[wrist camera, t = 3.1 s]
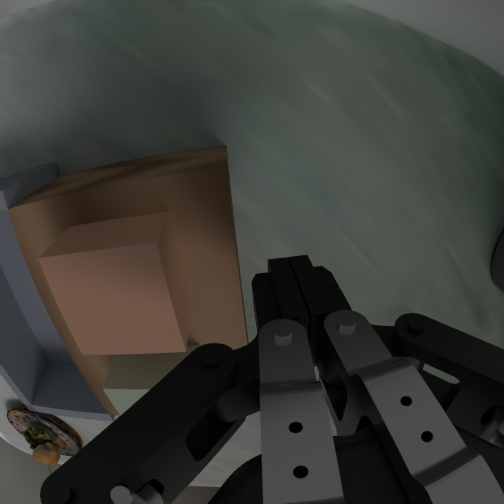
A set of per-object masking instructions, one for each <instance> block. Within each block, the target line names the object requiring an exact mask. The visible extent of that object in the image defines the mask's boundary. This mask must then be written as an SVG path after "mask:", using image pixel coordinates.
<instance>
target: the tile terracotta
mask: <svg viewBox="0 0 504 504" xmlns="http://www.w3.org/2000/svg"><path fill="white" fill-rule="evenodd" d="M38 259H39V262H40V265H41V267H42V270H43V272H44V275H45V277H46V280H47V282H48V284H49V287H50V289H51V291H52V294H53V296H54V298H55V301H56V303H57V305H58V307H59V309H60V311H61V314H62V316H63V318H64V320H65V322H66V324H67V326H68V328H69V330H70V332H71V334H72V336H73V338H74V340H75V342H76V343H77V345H78V347H79V349H80V351H81V353H82V354H85V355H113V354H152V353H172V352H186V348H187V339H188V330H189V321H190V313H191V305H190V301H189V297H188V293H187V288H186V284H185V279H184V275H183V270H182V266H181V261H180V256H179V251H178V247H177V242H176V237H175V232H174V227H173V221H172V216H171V211H166V212H159V213H152V214H145V215H138V216H131V217H125V218H118V219H112V220H106V221H99V222H93V223H87V224H81V225H76V226H70V227H68V228H67V229H66V230H65V231H64V232H63V233H62V234H61V235H60V236H59V237H58V238H57V239H56V240H55V241H54V242H53V243H52V244H51V245H50V246H49V247H48V248H47V249H46V250H45V251H44V252H43V254H42V255H41V256H40V257H39V258H38Z"/></svg>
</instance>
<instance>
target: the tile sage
mask: <svg viewBox="0 0 504 504" xmlns="http://www.w3.org/2000/svg"><path fill="white" fill-rule="evenodd" d="M199 346H201V345H200V344H199V345H187V348H186V352H172V353H152V354H113V357H112V360H111V364H110V367H109V370H108V373H107V376H106V379H105V383H104V386H103V390H104V392H105V393H106V395H107V396H108V398H109V399H110V401H111V402H112V404H113V405H114V407H115V408H116V410H117V411H118V413H119V414H120V416H121V415H122V414H123V413H124V412H125V411H126V410H127V409H129V408H130V407H131V406H132V405H133V404H134V403H135V402H137V401H138V400H139V399H140V398H141V397H142V396H143V395H144V394H146V393H147V392H148V391H149V390H150V389H151V388H152V387H153V386H155V385H156V384H157V383H158V382H159V381H160V380H161V379H162V378H163V377H165V376H166V375H167V374H168V373H169V372H170V371H171V370H172V369H173V368H174V367H176V366H177V365H178V364H179V363H180V362H181V361H182V360H183V359H184V358H185V357H187V356H188V355H189V354H190V353H191V352H192V351H193V350H194V349H196V348H197V347H199Z"/></svg>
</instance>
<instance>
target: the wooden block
mask: <svg viewBox="0 0 504 504" xmlns="http://www.w3.org/2000/svg"><path fill="white" fill-rule="evenodd" d="M166 211H171V216H172V221H173V227H174V232H175V237H176V242H177V247H178V251H179V256H180V261H181V266H182V270H183V275H184V279H185V284H186V288H187V293H188V297H189V301H190V305H191V313H190V321H189V330H188V339H187V345H199V344H200V345H204V344H208V343H221V344H225V345H227V346H229V347H231V348H232V349H233V350H235V349H238V348H241V347H243V346H245V345H247V344H249V342H248V334H247V326H246V318H245V309H244V301H243V293H242V284H241V276H240V267H239V259H238V250H237V241H236V232H235V223H234V214H233V205H232V196H231V187H230V178H229V168H228V159H227V149H226V146H225V147H217V148H208V149H200V150H193V151H186V152H179V153H172V154H166V155H160V156H154V157H148V158H142V159H137V160H131V161H126V162H121V163H116V164H111V165H106V166H102V167H97V168H93V169H88V170H84V171H80V172H76V173H72V174H67V175H64V176H60V177H58V178H56V179H54V180H53V181H51V182H49V183H48V184H46V185H44V186H43V187H41V188H39V189H38V190H36V191H35V192H33V193H31V194H30V195H28V196H27V197H25V198H24V199H22V200H21V201H19V202H18V203H16V204H15V205H13V206H12V207H10V208H9V209H8V212H9V215H10V218H11V221H12V225H13V228H14V231H15V234H16V237H17V240H18V243H19V245H20V248H21V251H22V254H23V256H24V259H25V261H26V264H27V267H28V269H29V272H30V274H31V276H32V279H33V281H34V284H35V286H36V288H37V290H38V293H39V295H40V297H41V299H42V301H43V304H44V306H45V308H46V310H47V312H48V314H49V316H50V318H51V320H52V322H53V324H54V326H55V328H56V330H57V332H58V334H59V336H60V337H61V339H62V341H63V343H64V345H65V347H66V348H67V350H68V352H69V354H70V355H71V357H72V359H73V361H74V362H75V364H76V366H77V367H78V369H79V371H80V372H81V374H82V375H83V377H84V379H85V380H86V382H87V383H88V385H89V386H90V388H91V389H92V391H93V393H94V394H95V395H96V397H97V398H98V400H99V401H100V403H101V404H102V406H103V407H104V409H105V410H106V411H107V413H108V414H116V415H120V414H119V413H118V411H117V410H116V408H115V407H114V405H113V404H112V402H111V401H110V399H109V398H108V396H107V395H106V393H105V392H104V390H103V386H104V383H105V379H106V376H107V373H108V370H109V367H110V364H111V360H112V357H113V355H85V354H82V353H81V351H80V349H79V347H78V345H77V343H76V342H75V340H74V338H73V336H72V334H71V332H70V330H69V328H68V326H67V324H66V322H65V320H64V318H63V316H62V314H61V311H60V309H59V307H58V305H57V303H56V301H55V298H54V296H53V294H52V291H51V289H50V287H49V284H48V282H47V280H46V277H45V275H44V272H43V270H42V267H41V265H40V262H39V259H38V258H39V257H40V256H41V255H42V254H43V252H44V251H45V250H46V249H47V248H48V247H49V246H50V245H51V244H52V243H53V242H54V241H55V240H56V239H57V238H58V237H59V236H60V235H61V234H62V233H63V232H64V231H65V230H66V229H67V228H68V227H70V226H76V225H81V224H87V223H93V222H99V221H106V220H112V219H118V218H125V217H131V216H138V215H145V214H152V213H159V212H166Z"/></svg>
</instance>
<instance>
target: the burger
mask: <svg viewBox="0 0 504 504" xmlns="http://www.w3.org/2000/svg"><path fill="white" fill-rule="evenodd" d="M7 418H8V420H9V422H10V423H11V424H12V425H13V426H14V428H15V429H16V430H17V431H18V432H19V433H21V434H22V435H23V436H24V437H25V439H26V441H27V442H28V443H29V444H31V445H30V446H31V447H30V448H31V449H33V450H34V451H33V457H34V459H35V460H36V461H37V462H38V463H41V464H44V465H49V466H51V465H54V464H56V463H57V462H58V461H59V459H60V455H59V454H61V455H66V456H74V455H75V454H76V453H77V452H79V451H80V450H81V448H82V444H83V442H82V439H81V437H80V436H79V435H78V434H77V432H76V431H75V430H74V429H72V428H71V427H70V426H69V425H68V424H66V423H65V422H64V421H62V420H61V419H59V418H58V417H56V416H54V415H52V414H47V413H41V412H36V411H30V410H29V409H28V408H27V407H25V408H24V409H23V410H22V409H15V408H13V409H12V410H10V411H8V412H7ZM50 472H51V471H50Z"/></svg>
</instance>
